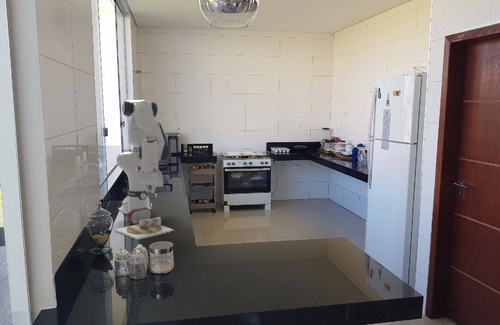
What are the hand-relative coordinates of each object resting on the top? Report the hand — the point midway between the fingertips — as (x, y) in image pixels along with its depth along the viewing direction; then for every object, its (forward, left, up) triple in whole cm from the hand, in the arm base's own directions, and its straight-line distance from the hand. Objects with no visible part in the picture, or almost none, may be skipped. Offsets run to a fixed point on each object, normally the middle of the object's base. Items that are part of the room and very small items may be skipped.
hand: (150, 192), depth 217 cm
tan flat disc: (+6, -8, -18) cm, 20 cm away
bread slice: (-11, 0, -19) cm, 22 cm away
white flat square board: (+6, -8, -19) cm, 22 cm away
